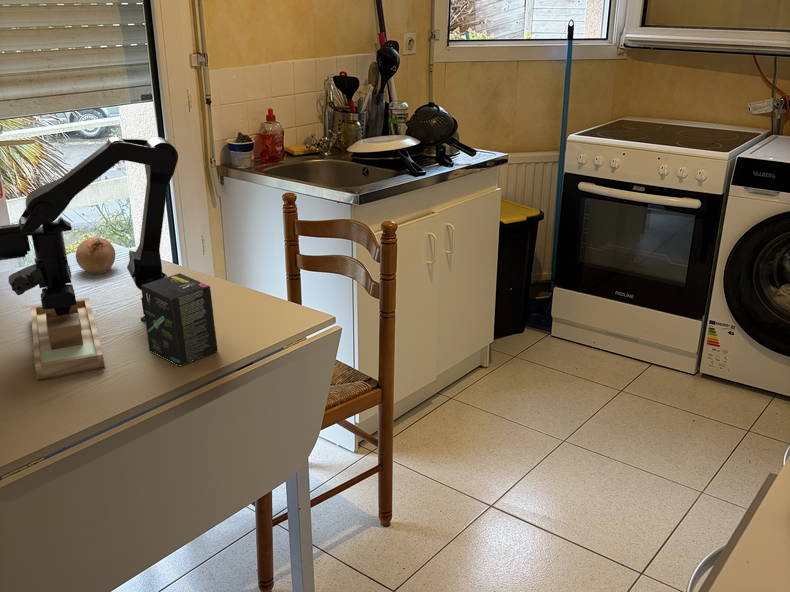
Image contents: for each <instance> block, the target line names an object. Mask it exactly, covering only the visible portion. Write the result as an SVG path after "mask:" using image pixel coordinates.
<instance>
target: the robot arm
mask: <svg viewBox="0 0 790 592" xmlns="http://www.w3.org/2000/svg"><path fill="white" fill-rule="evenodd" d="M121 161H123V162H124V161H125V162H131V163H137V164H141V165H144V168H145V174H146V175H145V177H146V186H145V196H144V203H143V213H142V222H141V228H140V229H141V231H140V237H139V238H140V239H139V245H138V246H137V249H136V251H133V250H129V251H128V252H129V253H128V255H129V258H128V259H129V261H128V264H127V266H126V268H127V270H128V273H129V275H130V276H131V278H132V281H133V282H134V284H135V287H137V289H138V290H139V291H141V285H143V284H147V283H150V282H154V281H157V280H159V279H163V278H166V277H168V275H167V274H166V273H165V272H163V265H162V258H161V252H160V251H161V248H160V247H161V242H162V241H161V240H162V232H163V225H164V216H165V207H166V201H167V194H168V186H169V184H170V182H171V180H172V178H173V176H174V174H175V171H176V168H177V164H178V162H179V153H178V151H177V149H176V147H174V145H172V144H171V143H170V141H169V140H167V139H166V138H164V137H161V136H155V137H152V138H150V139H143V138H142V139H141V138H123V137H122V138H121V137H118V136H114V137H110V138H108V140H107V141H106V143H105V144H104V145H102V146H100V148H98V149H97V150H95V151H94V152H93V153H91V154H90V155H89V156H88V157H86V158H85V159H84V160H83V161H81V162H80V163H78V164H77V165H76V166H75V167H74V168H72V169H71V170H69V171H68V172H67V173H65V174H64V175H63V176H61V177H59V178H58V179H56V180H53V181H50V182H47V183H45V184H43V185H41V186H39V187H37V188H35V189H34V190H32V191H30V192H29V193H28V194H27V195H26V198H25V209H24V211H23V212H22V214H21V216H19V219H18V223H15V224H14V223H13V224H7V225H6V224H4V225H0V261H6V260H13V259H21V258H26V255H29V253H28V252H31V251H32V250H31V245H30V241H29V237H30V236H31V239H32V241H31V242H32V244H33V245H32V246H33V251H34V255H35V257H34V263H33V264H31V265H28V266H26V267H24V268H21V269H19V270H18V271H15V272H13V273H11V274H10V275H9V276H8V284H9V285H10V287H11V290H12V292H14V293H15V294H16V295H17V296H21V295H23V294H24V293H25V292H27V291H30V290H31V289H34V288H35V287H37V286H38V287H39V289H41V294H40V301H41V305H42V307H43V309H45V310H47V309H54V310H55V312H56V314H57V316H61V315H67V314H69V312H70V308H71V306H73V305H75V304H76V300H77V297H76V294H75V289H74V286H73V284H72V278H73V277H72V272H71V266H70V265H69V262H68V255H67V250H66V245H65V239H64V233H63V232H69V231H72V230H73V227H72V224H71V223H70V222H69V221H67V220H65V219H64V218H63V216H60V215H61V214H62V213H63V212H64V211H65V210H66V208H67V207H68V206H69V204H70V203H71V202H72V200H73V199H74V198H75V197H76V196H77V195H78V194H79V193H81V192H82V191H84V189H86V188H87V187H89V185H92V183H94V182H95V181H97V179H99V178H100V177H101V176H103V174H105V173H106V172H108V171H109V170H111V169H112V168H113V167H114V166H116V165H117V164H119V163H120V162H121ZM59 216H60V217H59ZM58 217H59V218H58ZM140 299H141V306H142V314H143V316H141V317H140V322H141V321H142V322H146V320H145V313H144V305H143V298H142V297H141V298H140Z"/></svg>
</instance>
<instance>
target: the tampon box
mask: <svg viewBox="0 0 790 592" xmlns="http://www.w3.org/2000/svg"><path fill="white" fill-rule="evenodd" d="M140 291H141V296H142V297H141V298H143V305H144V313H145V315H144V316H145V320H146V321H145V325H146V326H145V327H146V333H147V335H146V336H147V342H148V351H149V352H151V351H152V352H151V353H153V352H154V353H153V354H155V353H156V354H158V355H160V356H162V357H164V358H166V359H168V360H170V361H172V362H173V363H175V364H177V365H182V366H184V365H183V364H185V363H187V364H189V363H191V362H190V361H192V360H194V361H196V359H197V360H199V359H202V358H204V357H207V356H209V355H211V354H210V353H212V354H214V353H216V352H215V351H217V352H218V351H219V350H218V343H217V337H216V336H217V333H216V326H215V318H214V317H215V316H214V307H213V300H212V299H213V298H212V292H211V285H208V284H206V283H203V282H202V281H199V280H196V279H194V278H192V277H189V276H187V275H185V274H183V273H175V274H172V275H170V276H167V277H166V278H163V279H159V280H157V281H154V282H150V283H147V284H143V285H141V290H140ZM213 352H214V353H213ZM156 354H155V355H156ZM208 354H209V355H208ZM158 355H157V356H158ZM206 355H207V356H206ZM160 356H159V357H160ZM203 356H204V357H203ZM162 357H161V358H162ZM201 357H202V358H201ZM164 358H163V359H164ZM198 358H199V359H198ZM166 359H165V360H166ZM168 360H167V361H168ZM170 361H169V362H170ZM172 362H171V363H172ZM188 362H189V363H188ZM192 362H193V361H192ZM173 363H172V364H173ZM175 364H174V365H175ZM177 365H176V366H177ZM185 365H186V364H185Z"/></svg>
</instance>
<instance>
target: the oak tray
mask: <svg viewBox="0 0 790 592" xmlns="http://www.w3.org/2000/svg"><path fill="white" fill-rule="evenodd" d="M73 313H78V317H79V322H80V327H81V333H82V339H83V344H89V343H94V345H95V349H96V353H94V354H89V355H83V356H78V357H72V358H67V359H61V360H56V361H50V362H45V363H41V353H40V352H43V351H49V350H51V346H50V341H49V335H48V330H47V322H46V318H49V317H55V316H57V314H56V312H55V310H54V309H47V310H45V309H43V307H42V304H39V305H34V306H30V315H31V316H30V317H31V328H32V329H31V330H32V343H33V356H34V357H33V358H34V368H35V372H36V377H37V381H43V380H44V381H45V380H48V379H53V378H61V377H65V376H71V375H77V374H81V373H86V372H85V371H87V372H90V371H91V370H92V371H96V370H102V369H105V368H106V367H105V360H104V359H105V358H104V353H103V349H102V346H101V341H100V337H99V334H98V333H99V332H98V330H97V326H96V322H95V317H94V314H93V313H94V312H93V308H92V305H91V301H90V298H89V297H87V298H79V299H76V304H75V305H73V306H71V308H70V312H69V314H73Z"/></svg>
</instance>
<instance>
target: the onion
mask: <svg viewBox="0 0 790 592" xmlns="http://www.w3.org/2000/svg"><path fill="white" fill-rule="evenodd" d="M75 260H76V263H77V266H79V267H80V269H81V270H83V271H84V272H85V273H86V274H102V273H103V274H104V273H106V272H108V271H109V270H110V269H111V268H112V266H113V265H114V263H115V261H116V250H115V248H114V246H113V244H112V243H111V242H110V241H109V240H107V239H105V238H102V237H98V236H97V237H94V236H93V237H89V238H87V239H85V240H83V241H81V243H80V244H79V245H78V247H77V249H76V251H75Z"/></svg>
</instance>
